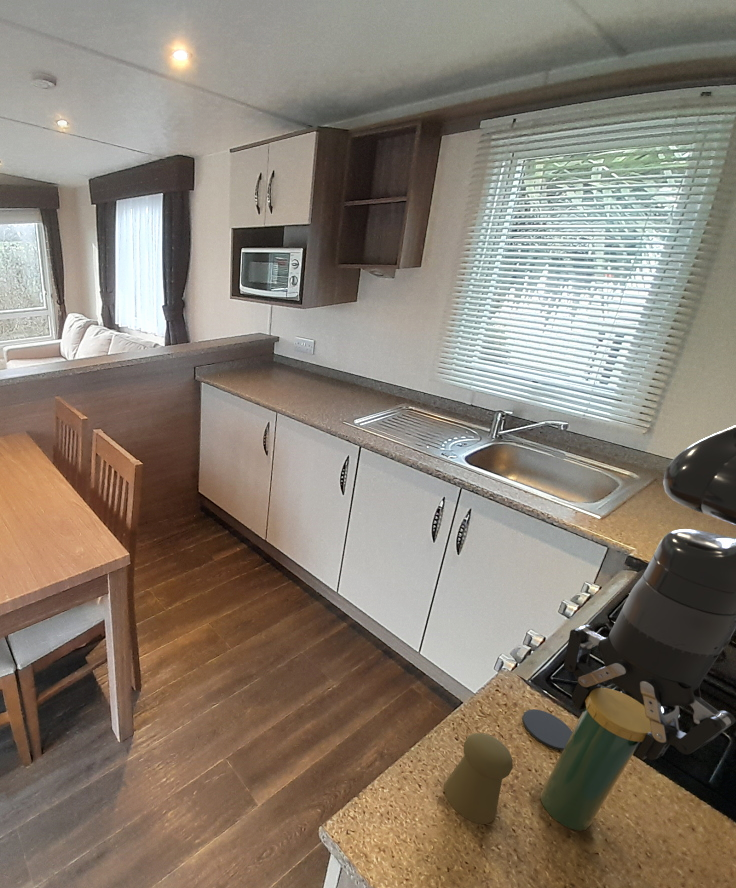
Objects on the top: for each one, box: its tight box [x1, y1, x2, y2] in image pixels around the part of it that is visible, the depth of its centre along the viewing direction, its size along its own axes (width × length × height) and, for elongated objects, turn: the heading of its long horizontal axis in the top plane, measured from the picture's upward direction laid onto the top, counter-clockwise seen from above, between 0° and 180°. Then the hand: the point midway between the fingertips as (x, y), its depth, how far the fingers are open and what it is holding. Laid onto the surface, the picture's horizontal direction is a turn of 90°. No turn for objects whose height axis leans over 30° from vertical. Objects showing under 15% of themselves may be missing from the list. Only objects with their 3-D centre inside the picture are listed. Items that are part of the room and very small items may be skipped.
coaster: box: [521, 709, 573, 751], centre depth 74 cm, size 6×6×1 cm
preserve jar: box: [539, 706, 641, 832], centre depth 60 cm, size 5×5×19 cm
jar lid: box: [585, 687, 651, 743], centre depth 56 cm, size 6×6×2 cm
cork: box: [443, 732, 514, 825], centre depth 63 cm, size 6×6×11 cm
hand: (611, 729), depth 57 cm, fingers closed on jar lid, 6 cm apart
